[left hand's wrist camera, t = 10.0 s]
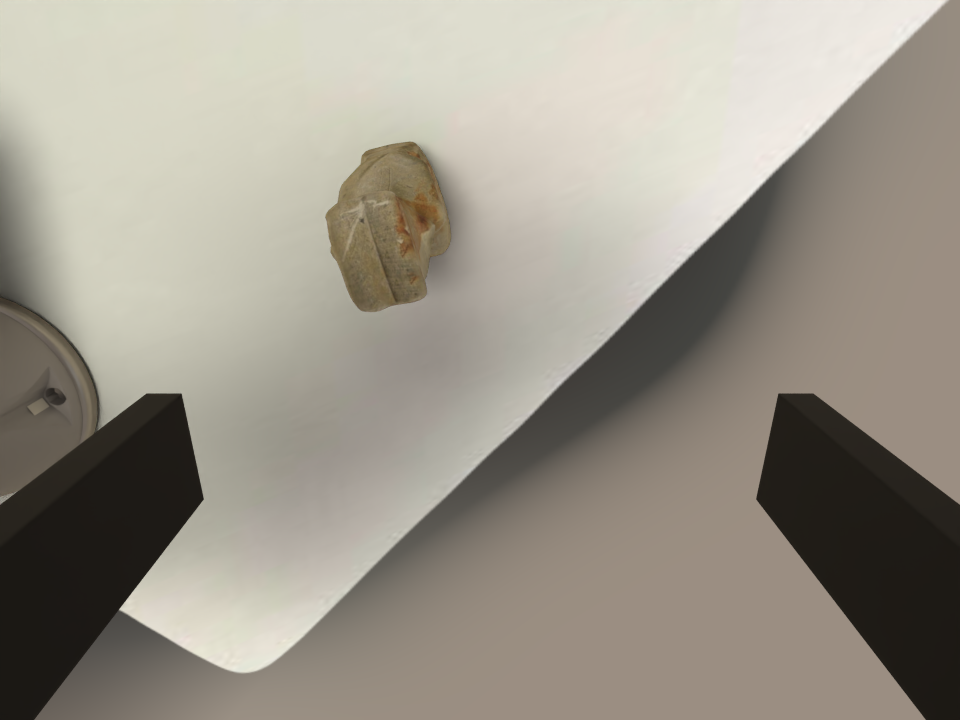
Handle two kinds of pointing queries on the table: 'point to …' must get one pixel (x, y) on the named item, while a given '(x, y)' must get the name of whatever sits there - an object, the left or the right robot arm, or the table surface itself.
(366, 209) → the sculpture
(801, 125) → the table surface
